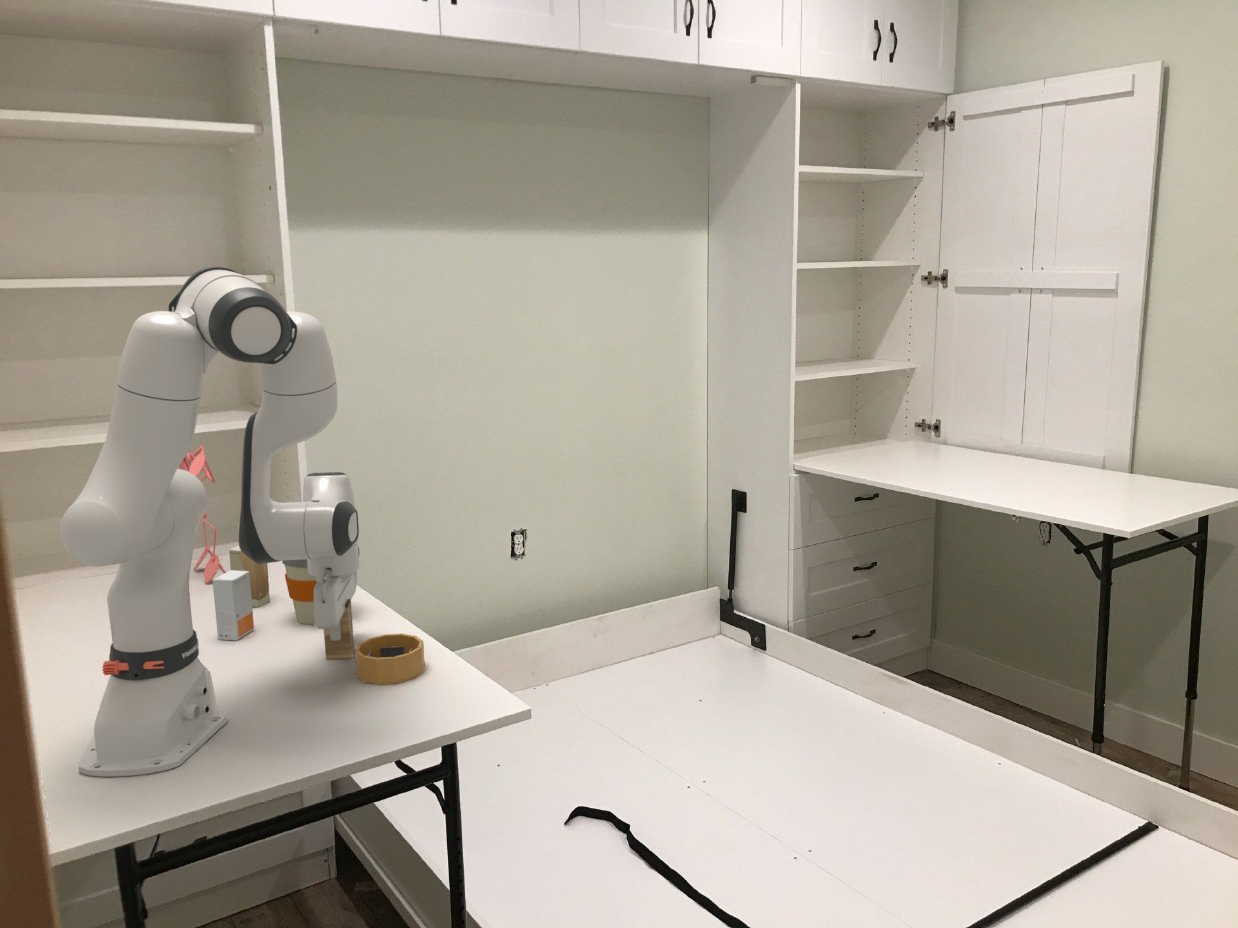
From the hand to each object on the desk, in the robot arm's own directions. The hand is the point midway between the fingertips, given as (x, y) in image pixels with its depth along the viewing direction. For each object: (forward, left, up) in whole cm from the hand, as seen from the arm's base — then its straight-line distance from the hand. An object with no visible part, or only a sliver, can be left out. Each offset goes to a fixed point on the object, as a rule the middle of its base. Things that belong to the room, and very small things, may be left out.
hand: (338, 634), depth 176 cm
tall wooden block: (0, 0, -4) cm, 4 cm away
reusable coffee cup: (+21, +8, -4) cm, 23 cm away
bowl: (-8, -10, -4) cm, 14 cm away
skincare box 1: (+31, +24, -4) cm, 39 cm away
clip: (-8, -10, -4) cm, 14 cm away
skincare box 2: (+13, +22, -4) cm, 26 cm away
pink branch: (+50, +42, -4) cm, 65 cm away
